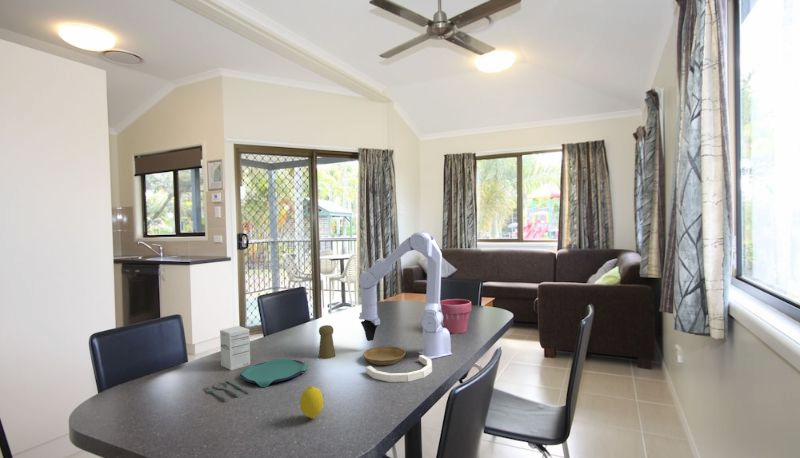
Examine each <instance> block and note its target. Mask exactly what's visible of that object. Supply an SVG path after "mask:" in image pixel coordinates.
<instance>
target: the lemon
mask: <svg viewBox="0 0 800 458" xmlns="http://www.w3.org/2000/svg"><path fill="white" fill-rule="evenodd" d="M299 404H300V405H299V407H300V410H301V412H302V414H303V415H304V416H306V417H307V418H310V419H314V418H315V417H316V416H318V415H319V414H320V413H321V412H322V410H323V407H324V397H323V394H322V391H321V390H320V389H319V388H318V387H314V386H313V385H310V386H309V387H307V388H305V389H304V391H303V392H302V393H301V395H300V400H299Z"/></svg>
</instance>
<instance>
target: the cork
mask: <svg viewBox="0 0 800 458" xmlns="http://www.w3.org/2000/svg"><path fill="white" fill-rule="evenodd" d="M318 334H319V335H320V339H319V350H318V358H319V359H321V360H327V359H333V358H335V357H336V351H335V345H334V340H333V334H334V328H333V326H332V325H322V326H320V327H319V328H318Z"/></svg>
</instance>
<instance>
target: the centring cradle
mask: <svg viewBox="0 0 800 458" xmlns="http://www.w3.org/2000/svg"><path fill="white" fill-rule="evenodd" d="M418 362H419V363H421V364H423V365H424V367H422V368H421V369H418V370H414V371H410V372H399V373H397V372H396V373H395V372H394V373H393V372H385V371H380V370H378V369H376V368H374V367H373V366H372V365H368V366H366V368H365V369H366V371H365V372H366V374H367V375H369V376H370V377H371V378H372V379H374V380H378V381H383V382H387V383H388V382H389V383H400V382H404V383H406V382H411V381H415V380H419V379H423V378H426V377H427V376H428V375H430V374H431V373H432V372H433V361H432V359H430V358H428V357H426V356H424V355H421V354H419V355H418Z"/></svg>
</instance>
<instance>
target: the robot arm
mask: <svg viewBox="0 0 800 458" xmlns="http://www.w3.org/2000/svg"><path fill="white" fill-rule="evenodd" d="M411 251H417V252H418V253H420V254H422V256H423V257H425V258H426V260H427V270H426V271H427V273H426V294H425V295H426V297H425V298H426V299H425V306H424V311H423V315H422V317H421V320H420V325H421V327H422V348H423V349H422V351H418V354H419V355H424V356H426V357H428V358H430V359H431V360H433V359H438V358H442V357H446V356H451V355H453V353H452V352H451V349H452V346H451V335H450V334H451V333H449V331H448V330H447V329H446V328H445V327H444V326H443V325H442V324H443V314H442V312H441V304H440V301H441V287H442V286H441V285H442V282H441V281H442V262H443V254H442V251H441V249H440V247H439V246H438V244H437V242H436V238H434V236H432V235H431V234H430V233H429V232H427V231H421V232H414V233H413V234H411V236H409V237H408V238H406V239H405V240H404V241H402V242H401V243H400V244H399V245H398V246H397V247H396V248H395V249H394V250H393V251H392V252H391V253H390V254H389V255H388V256H387V257H386V258H385V257H381V258H380V259H379V258H378V259H376V260H375V263H374V264H373V265H372V266H371V267H368V268H367V269H366V272H363V273H361V274H360V276H359V278H358V284H359V286H360V290H361V291H360V292H361V295H360V296H361V298H360V299H361V312H359V316H358V319H359V320H362V321H360V324H361V326H362V328H363V330H364V334H365V338H366V340H367V341H368V342H371V341H374V340H375V339H374V338H375V333H376V331H377V327H378V326H380V325H381V319H380V318H379V316H378V299H377V298H378V296H377V295H378V294H377V284H379V282H380V281H381V280H382V279H383V278H384V277H385V276H386V275H387V274H389V273H390V272H391V271H392V269H393V264H395V263H396V262H397V261H398V260H400V259H401V258H402V257H403V256H404V255H406V253H408V252H411Z"/></svg>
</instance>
